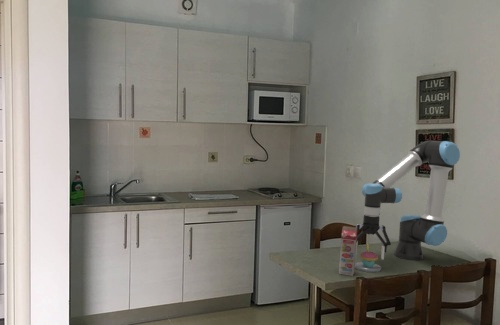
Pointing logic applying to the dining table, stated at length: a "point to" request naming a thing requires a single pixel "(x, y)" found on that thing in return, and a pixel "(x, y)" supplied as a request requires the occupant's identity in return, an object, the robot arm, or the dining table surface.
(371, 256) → the cupcake
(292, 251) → the dining table surface
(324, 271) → the dining table surface
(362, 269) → the plate
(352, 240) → the juice carton
